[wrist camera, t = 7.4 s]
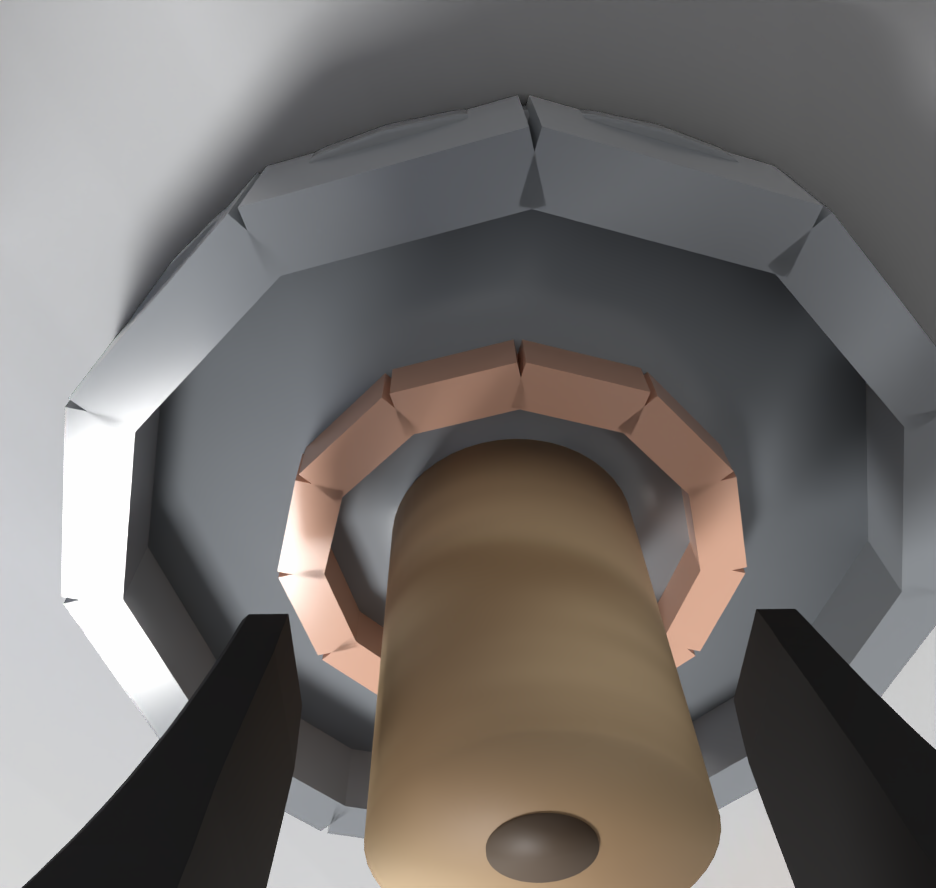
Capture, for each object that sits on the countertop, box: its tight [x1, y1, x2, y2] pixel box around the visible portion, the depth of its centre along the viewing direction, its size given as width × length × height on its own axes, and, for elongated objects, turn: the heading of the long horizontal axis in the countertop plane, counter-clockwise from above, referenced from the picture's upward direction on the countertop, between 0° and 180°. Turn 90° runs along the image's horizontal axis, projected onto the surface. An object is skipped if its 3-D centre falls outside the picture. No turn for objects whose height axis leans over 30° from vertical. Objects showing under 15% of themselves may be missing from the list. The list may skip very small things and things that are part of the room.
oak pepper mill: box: [364, 439, 721, 888], centre depth 13 cm, size 4×4×6 cm
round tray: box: [61, 95, 936, 838], centre depth 15 cm, size 15×15×2 cm
